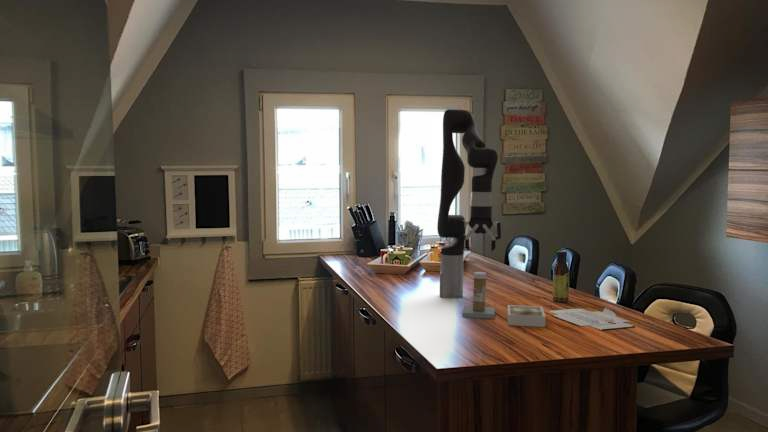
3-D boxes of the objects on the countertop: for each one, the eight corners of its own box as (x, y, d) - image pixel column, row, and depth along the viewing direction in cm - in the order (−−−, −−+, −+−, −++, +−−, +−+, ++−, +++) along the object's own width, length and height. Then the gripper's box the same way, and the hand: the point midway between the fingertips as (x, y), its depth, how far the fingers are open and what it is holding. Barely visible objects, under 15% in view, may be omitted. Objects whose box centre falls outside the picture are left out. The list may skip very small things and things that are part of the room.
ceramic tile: (462, 316, 211) (462, 312, 211) (464, 309, 222) (464, 305, 222) (494, 318, 209) (494, 314, 209) (494, 311, 220) (494, 307, 220)
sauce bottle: (569, 303, 236) (571, 252, 234) (552, 302, 237) (554, 252, 236) (567, 299, 242) (569, 250, 241) (551, 298, 243) (553, 249, 242)
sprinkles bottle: (470, 309, 216) (471, 272, 215) (476, 307, 219) (477, 271, 218) (481, 311, 213) (482, 274, 212) (487, 309, 216) (488, 272, 215)
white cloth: (592, 333, 194) (593, 321, 193) (541, 317, 220) (541, 306, 220) (643, 328, 201) (643, 317, 201) (587, 313, 227) (587, 303, 227)
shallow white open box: (507, 324, 201) (508, 314, 201) (507, 314, 215) (507, 304, 215) (545, 327, 199) (545, 316, 198) (541, 316, 213) (542, 306, 213)
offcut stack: (510, 325, 201) (510, 310, 201) (510, 321, 206) (510, 307, 206) (538, 326, 200) (538, 312, 199) (537, 323, 205) (537, 308, 204)
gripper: (460, 204, 211) (459, 251, 212) (501, 205, 208) (500, 252, 209) (461, 203, 218) (460, 248, 219) (501, 204, 215) (500, 249, 217)
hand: (480, 250), depth 214 cm, fingers open, 8 cm apart
